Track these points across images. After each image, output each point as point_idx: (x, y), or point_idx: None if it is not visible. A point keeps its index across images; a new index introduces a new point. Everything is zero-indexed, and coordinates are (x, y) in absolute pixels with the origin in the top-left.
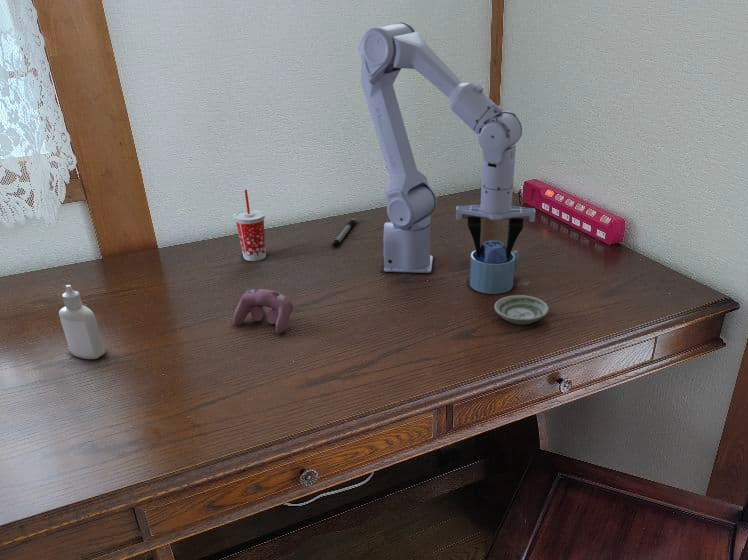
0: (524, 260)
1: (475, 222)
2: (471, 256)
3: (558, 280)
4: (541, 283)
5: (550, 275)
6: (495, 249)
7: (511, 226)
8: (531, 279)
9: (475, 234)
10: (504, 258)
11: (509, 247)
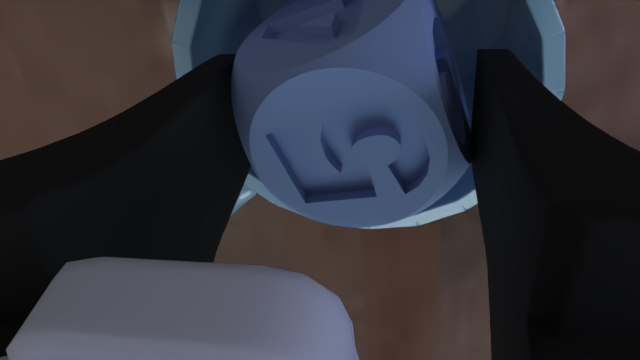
0: (234, 254)
1: (630, 345)
2: (562, 61)
3: (29, 78)
4: (97, 35)
5: (84, 127)
6: (322, 53)
7: (1, 209)
8: (161, 78)
9: (601, 159)
10: (254, 36)
11: (182, 91)
